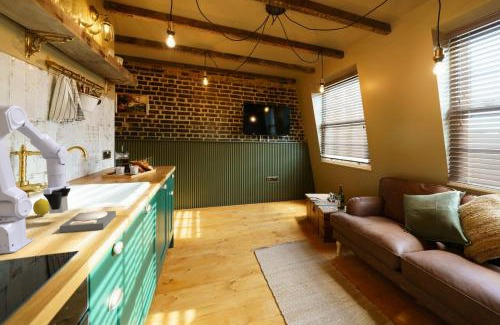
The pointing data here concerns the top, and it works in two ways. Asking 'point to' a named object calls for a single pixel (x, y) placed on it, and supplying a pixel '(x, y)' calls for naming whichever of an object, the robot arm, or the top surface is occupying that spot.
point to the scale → (88, 221)
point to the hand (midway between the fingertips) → (58, 207)
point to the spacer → (60, 206)
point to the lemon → (41, 207)
